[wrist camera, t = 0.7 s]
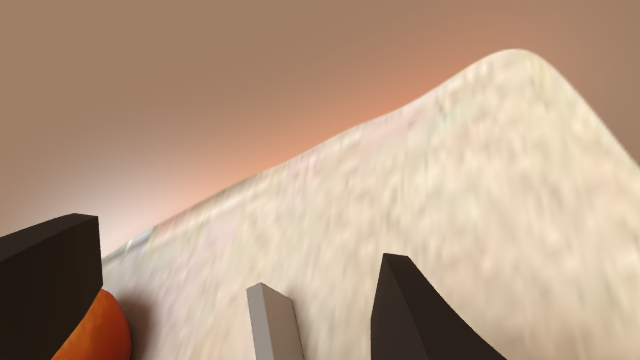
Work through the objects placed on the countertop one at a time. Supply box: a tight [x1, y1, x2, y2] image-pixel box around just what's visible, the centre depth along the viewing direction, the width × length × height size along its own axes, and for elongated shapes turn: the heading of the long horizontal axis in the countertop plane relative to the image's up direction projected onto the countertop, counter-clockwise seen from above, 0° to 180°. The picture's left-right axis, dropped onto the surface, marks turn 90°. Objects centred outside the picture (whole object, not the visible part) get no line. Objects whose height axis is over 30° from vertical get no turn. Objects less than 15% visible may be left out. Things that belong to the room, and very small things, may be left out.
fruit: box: [51, 289, 132, 360], centre depth 31 cm, size 8×8×8 cm
